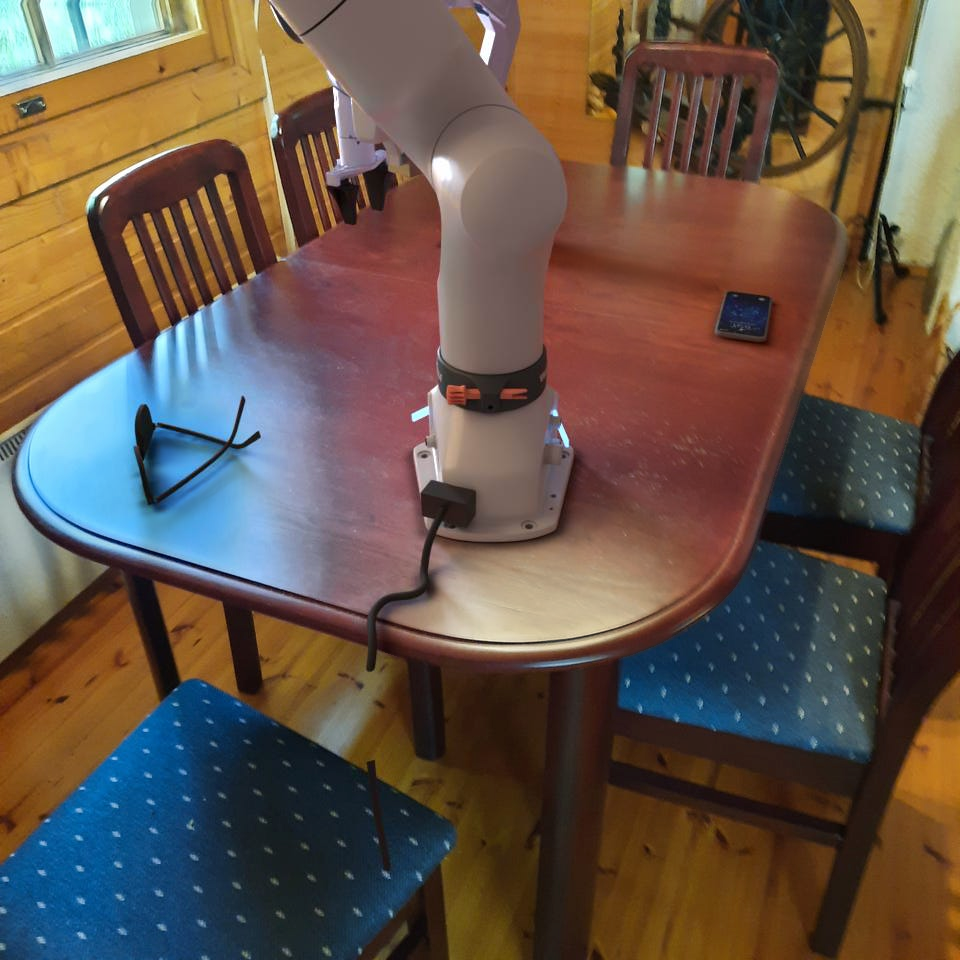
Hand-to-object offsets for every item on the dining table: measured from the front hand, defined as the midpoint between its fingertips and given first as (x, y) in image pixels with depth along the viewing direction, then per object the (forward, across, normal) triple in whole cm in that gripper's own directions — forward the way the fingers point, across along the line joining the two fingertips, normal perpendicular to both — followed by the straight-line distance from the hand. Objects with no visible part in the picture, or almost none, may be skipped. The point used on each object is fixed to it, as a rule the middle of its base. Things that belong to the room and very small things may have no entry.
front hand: (409, 159), depth 127 cm
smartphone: (+21, -14, +49) cm, 55 cm away
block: (+2, 0, 0) cm, 2 cm away
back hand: (+13, -7, -15) cm, 21 cm away
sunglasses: (+21, +52, +4) cm, 56 cm away
